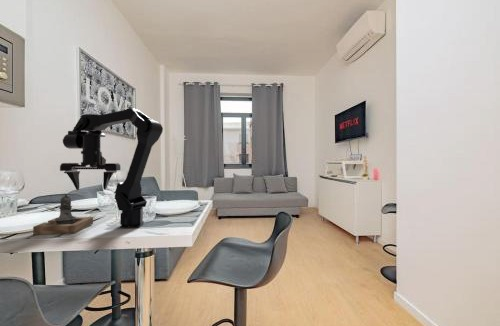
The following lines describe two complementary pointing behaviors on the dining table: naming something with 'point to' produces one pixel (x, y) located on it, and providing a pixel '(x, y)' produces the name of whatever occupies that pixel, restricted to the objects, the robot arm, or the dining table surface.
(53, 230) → the wooden tray
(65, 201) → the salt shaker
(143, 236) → the dining table surface
